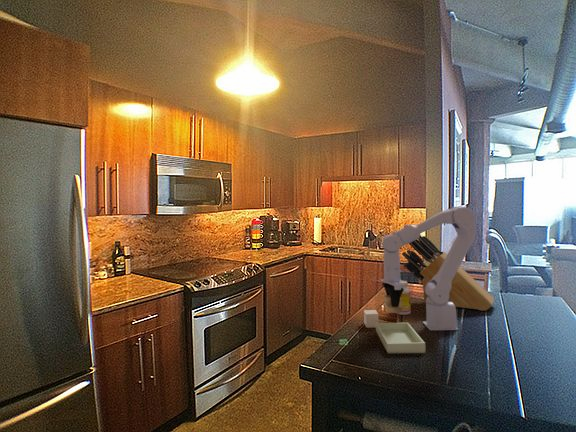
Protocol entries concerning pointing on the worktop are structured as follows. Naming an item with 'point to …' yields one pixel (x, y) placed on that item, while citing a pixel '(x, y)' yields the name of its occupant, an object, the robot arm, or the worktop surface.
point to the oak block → (389, 306)
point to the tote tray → (400, 338)
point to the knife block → (462, 285)
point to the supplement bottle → (405, 299)
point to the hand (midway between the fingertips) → (393, 304)
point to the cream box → (370, 318)
